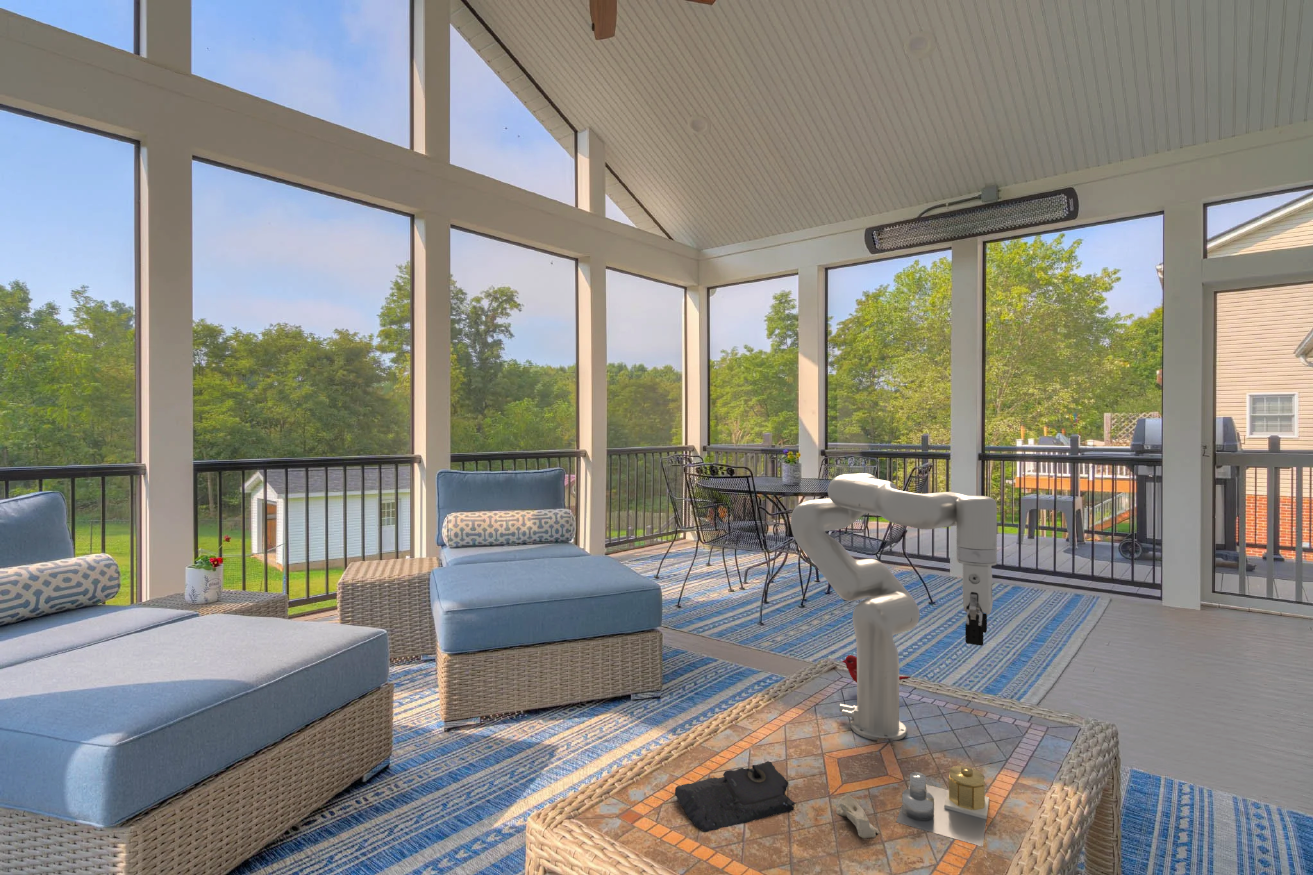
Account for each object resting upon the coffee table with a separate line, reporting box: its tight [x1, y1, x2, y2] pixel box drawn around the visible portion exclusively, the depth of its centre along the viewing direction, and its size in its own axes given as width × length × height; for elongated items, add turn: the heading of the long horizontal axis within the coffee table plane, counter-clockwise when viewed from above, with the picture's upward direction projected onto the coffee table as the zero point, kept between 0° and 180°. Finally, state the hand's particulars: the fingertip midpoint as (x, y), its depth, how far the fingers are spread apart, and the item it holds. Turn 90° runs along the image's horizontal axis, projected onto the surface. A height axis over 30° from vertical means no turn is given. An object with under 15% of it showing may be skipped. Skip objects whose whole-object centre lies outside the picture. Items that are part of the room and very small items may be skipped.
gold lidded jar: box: [948, 765, 986, 810], centre depth 123 cm, size 6×6×6 cm
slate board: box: [895, 784, 987, 848], centre depth 120 cm, size 14×16×1 cm
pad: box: [944, 788, 990, 820], centre depth 122 cm, size 7×7×1 cm
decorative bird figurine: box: [841, 654, 911, 684], centre depth 176 cm, size 3×18×10 cm, turn 67°
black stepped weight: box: [674, 760, 797, 832], centre depth 126 cm, size 15×22×5 cm
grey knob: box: [901, 771, 934, 821], centre depth 120 cm, size 5×5×7 cm
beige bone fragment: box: [835, 794, 881, 839], centre depth 117 cm, size 6×10×4 cm, turn 12°
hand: (976, 637), depth 135 cm, fingers open, 9 cm apart
